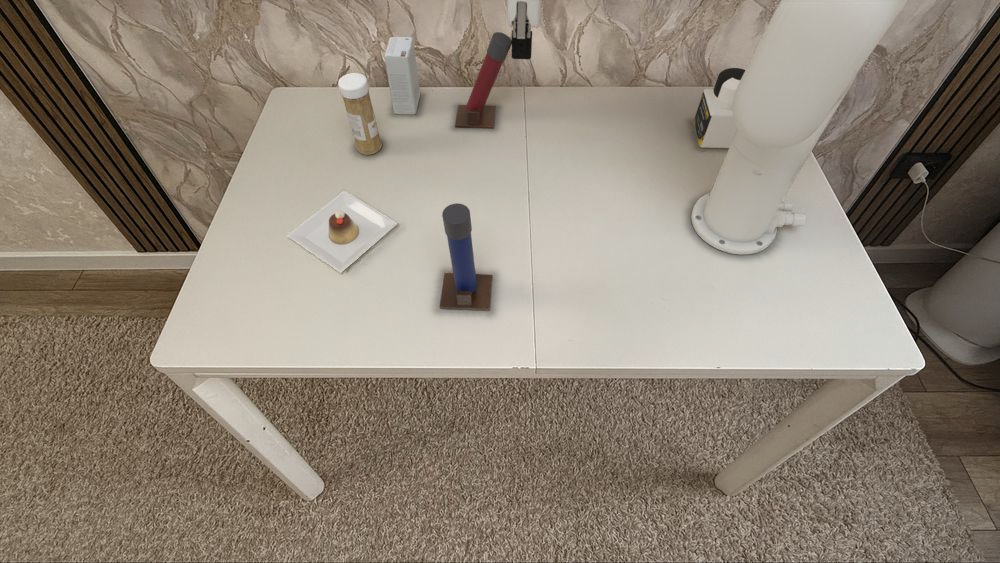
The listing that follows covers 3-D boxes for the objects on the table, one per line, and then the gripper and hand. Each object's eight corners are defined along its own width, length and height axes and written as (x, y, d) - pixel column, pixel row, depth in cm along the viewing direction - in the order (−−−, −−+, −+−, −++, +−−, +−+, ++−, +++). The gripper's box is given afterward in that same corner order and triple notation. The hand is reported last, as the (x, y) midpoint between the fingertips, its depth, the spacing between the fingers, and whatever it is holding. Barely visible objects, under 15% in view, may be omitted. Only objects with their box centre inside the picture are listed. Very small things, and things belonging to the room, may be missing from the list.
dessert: (342, 277, 81) (334, 257, 77) (288, 239, 86) (277, 218, 82) (399, 227, 87) (394, 206, 83) (345, 194, 91) (338, 173, 87)
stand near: (492, 276, 81) (492, 263, 78) (489, 311, 78) (489, 298, 75) (444, 274, 81) (442, 261, 79) (439, 309, 78) (437, 296, 75)
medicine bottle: (692, 122, 101) (712, 62, 91) (732, 122, 101) (756, 62, 91) (699, 148, 97) (720, 88, 87) (740, 149, 96) (767, 89, 87)
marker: (478, 277, 79) (471, 203, 67) (476, 296, 77) (468, 224, 65) (455, 276, 79) (443, 202, 67) (453, 295, 77) (440, 223, 65)
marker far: (482, 107, 102) (512, 36, 91) (481, 119, 100) (511, 48, 89) (465, 101, 102) (493, 29, 90) (463, 113, 100) (492, 40, 88)
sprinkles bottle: (386, 149, 97) (371, 82, 86) (363, 159, 96) (344, 92, 85) (375, 135, 100) (359, 68, 89) (352, 145, 98) (332, 77, 87)
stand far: (495, 107, 104) (495, 93, 101) (493, 128, 100) (493, 114, 98) (458, 106, 104) (457, 92, 102) (455, 127, 101) (453, 113, 98)
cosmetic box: (398, 94, 106) (387, 35, 97) (422, 95, 106) (413, 35, 96) (393, 115, 103) (381, 55, 93) (417, 116, 103) (408, 56, 93)
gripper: (551, -39, 72) (543, 84, 87) (552, -87, 81) (545, 32, 96) (493, -40, 73) (495, 83, 88) (501, -88, 82) (501, 30, 96)
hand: (521, 56), depth 92 cm, fingers closed
